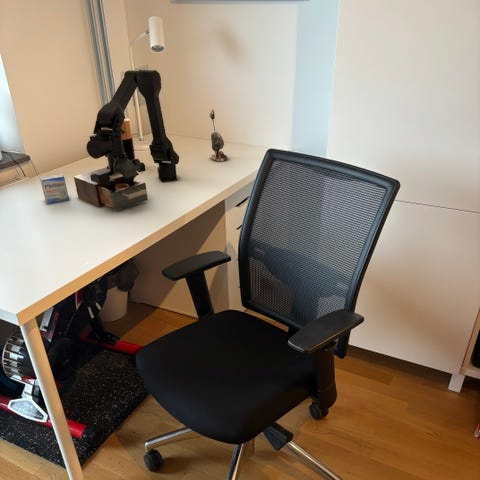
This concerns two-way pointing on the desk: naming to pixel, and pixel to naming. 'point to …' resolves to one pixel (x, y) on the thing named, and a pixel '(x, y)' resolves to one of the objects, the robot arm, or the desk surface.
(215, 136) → the plant with pod
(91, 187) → the cabinet
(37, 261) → the desk surface
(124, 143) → the battery
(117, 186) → the cup
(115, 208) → the drawer
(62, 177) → the medicine box
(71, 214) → the desk surface
